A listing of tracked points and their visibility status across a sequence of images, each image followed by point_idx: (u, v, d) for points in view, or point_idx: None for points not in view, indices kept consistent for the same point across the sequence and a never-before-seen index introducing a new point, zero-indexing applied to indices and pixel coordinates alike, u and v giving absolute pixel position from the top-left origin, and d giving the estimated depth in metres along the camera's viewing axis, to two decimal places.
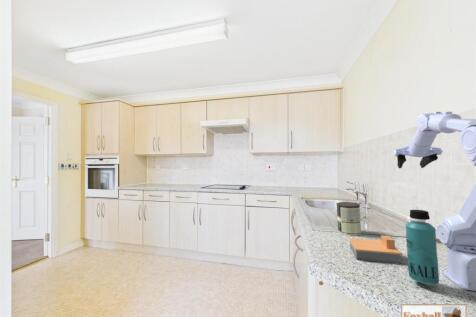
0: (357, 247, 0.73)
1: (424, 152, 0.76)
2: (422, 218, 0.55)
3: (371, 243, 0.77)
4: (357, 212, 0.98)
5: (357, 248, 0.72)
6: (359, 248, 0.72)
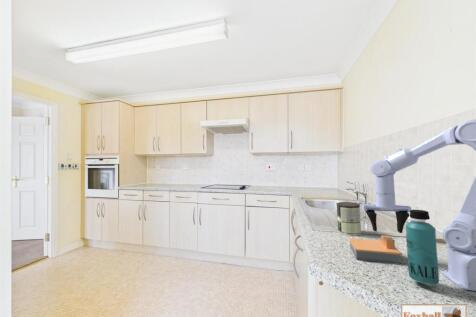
0: (357, 247, 0.73)
1: (390, 202, 0.72)
2: (422, 218, 0.55)
3: (371, 243, 0.77)
4: (357, 212, 0.98)
5: (357, 248, 0.72)
6: (359, 248, 0.72)
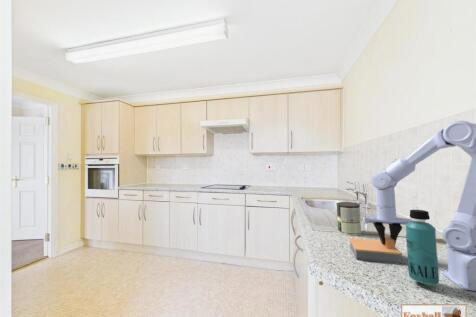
0: (357, 247, 0.73)
1: (391, 215, 0.72)
2: (422, 218, 0.55)
3: (371, 243, 0.77)
4: (357, 212, 0.98)
5: (357, 248, 0.72)
6: (359, 248, 0.72)
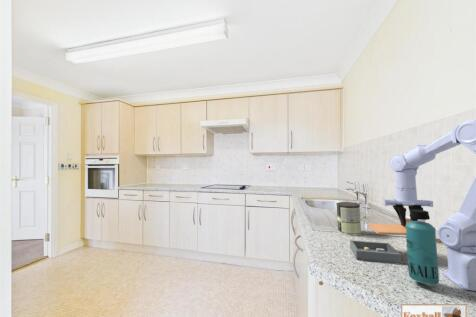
0: (379, 231, 0.74)
1: (412, 197, 0.72)
2: (422, 218, 0.55)
3: (391, 226, 0.77)
4: (357, 212, 0.98)
5: (379, 231, 0.73)
6: (381, 231, 0.73)
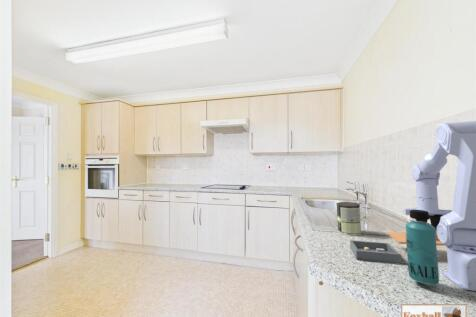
0: (400, 240, 0.74)
1: (434, 207, 0.73)
2: (422, 218, 0.55)
3: None
4: (357, 212, 0.98)
5: (400, 241, 0.74)
6: (402, 241, 0.74)
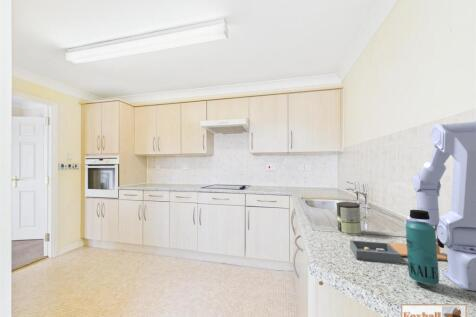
0: (401, 252, 0.74)
1: (435, 218, 0.72)
2: (422, 218, 0.55)
3: None
4: (357, 212, 0.98)
5: (401, 253, 0.73)
6: (403, 253, 0.73)
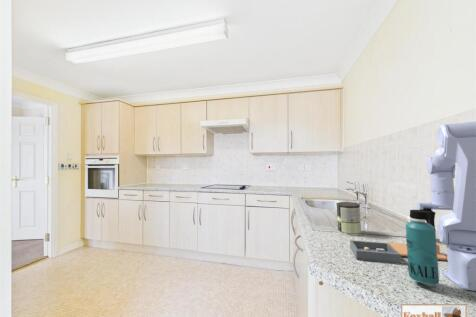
0: (401, 252, 0.74)
1: (450, 201, 0.69)
2: (422, 218, 0.55)
3: None
4: (357, 212, 0.98)
5: (401, 253, 0.73)
6: (403, 253, 0.73)
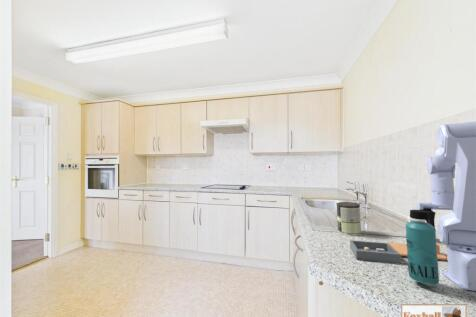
0: (401, 252, 0.74)
1: (450, 201, 0.69)
2: (422, 218, 0.55)
3: None
4: (357, 212, 0.98)
5: (401, 253, 0.73)
6: (403, 253, 0.73)
